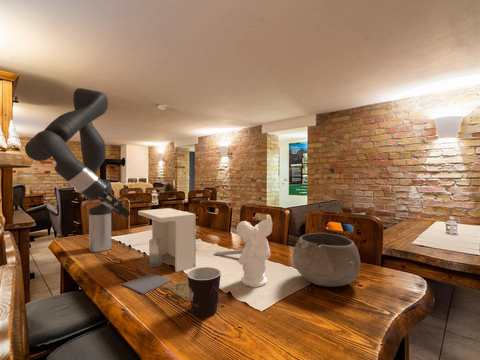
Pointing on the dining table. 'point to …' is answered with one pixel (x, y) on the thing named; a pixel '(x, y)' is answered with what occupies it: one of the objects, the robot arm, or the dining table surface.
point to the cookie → (180, 289)
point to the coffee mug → (204, 291)
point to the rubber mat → (146, 283)
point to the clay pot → (327, 259)
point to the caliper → (229, 252)
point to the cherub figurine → (254, 251)
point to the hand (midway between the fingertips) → (124, 214)
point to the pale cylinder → (155, 252)
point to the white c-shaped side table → (175, 234)
